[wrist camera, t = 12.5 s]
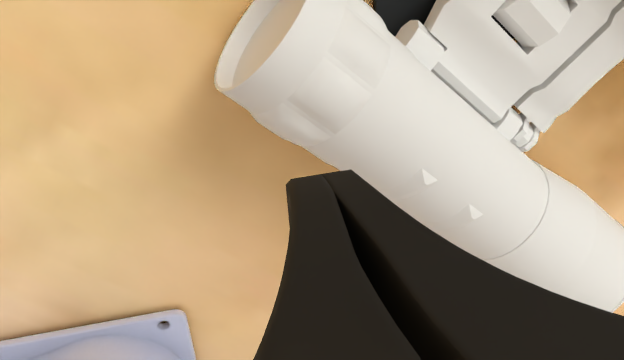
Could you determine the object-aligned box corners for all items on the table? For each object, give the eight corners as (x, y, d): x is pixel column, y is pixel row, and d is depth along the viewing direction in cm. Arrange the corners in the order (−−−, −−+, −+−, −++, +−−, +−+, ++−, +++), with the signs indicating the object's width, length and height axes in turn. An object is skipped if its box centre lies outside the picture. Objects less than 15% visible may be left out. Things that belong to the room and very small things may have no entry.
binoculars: (202, 60, 20) (501, 267, 29) (210, 136, 16) (560, 354, 25) (602, -448, 15) (822, -7, 24) (779, -543, 11) (969, 41, 19)
